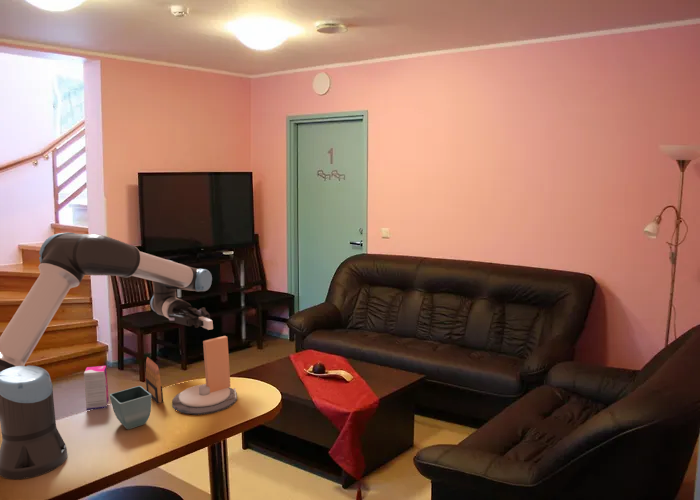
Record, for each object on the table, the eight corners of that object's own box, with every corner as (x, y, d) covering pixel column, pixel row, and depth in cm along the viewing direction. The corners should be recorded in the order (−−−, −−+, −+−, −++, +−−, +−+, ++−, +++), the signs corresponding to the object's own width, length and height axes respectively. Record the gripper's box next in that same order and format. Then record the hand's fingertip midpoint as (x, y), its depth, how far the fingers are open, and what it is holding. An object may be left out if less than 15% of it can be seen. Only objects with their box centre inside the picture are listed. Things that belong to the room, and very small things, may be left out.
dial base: (158, 407, 178) (157, 394, 177) (203, 384, 194) (203, 373, 193) (206, 420, 168) (205, 406, 167) (249, 395, 184) (249, 383, 184)
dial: (192, 411, 170) (188, 354, 167) (170, 396, 182) (166, 342, 179) (241, 396, 180) (238, 341, 177) (217, 382, 192) (214, 331, 189)
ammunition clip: (163, 402, 181) (160, 364, 179) (157, 404, 180) (154, 366, 178) (152, 391, 189) (149, 355, 187) (146, 393, 188) (143, 356, 186)
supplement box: (107, 408, 178) (103, 371, 176) (86, 410, 176) (82, 373, 174) (109, 400, 183) (106, 364, 181) (89, 403, 182) (85, 367, 180)
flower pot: (122, 435, 160) (119, 403, 159) (111, 424, 167) (108, 393, 166) (154, 425, 166) (152, 394, 164) (142, 414, 173) (140, 385, 171)
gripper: (196, 317, 206) (230, 332, 188) (160, 325, 198) (191, 341, 180) (194, 296, 205) (228, 309, 187) (158, 303, 197) (189, 317, 179)
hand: (210, 325), depth 184 cm, fingers closed
